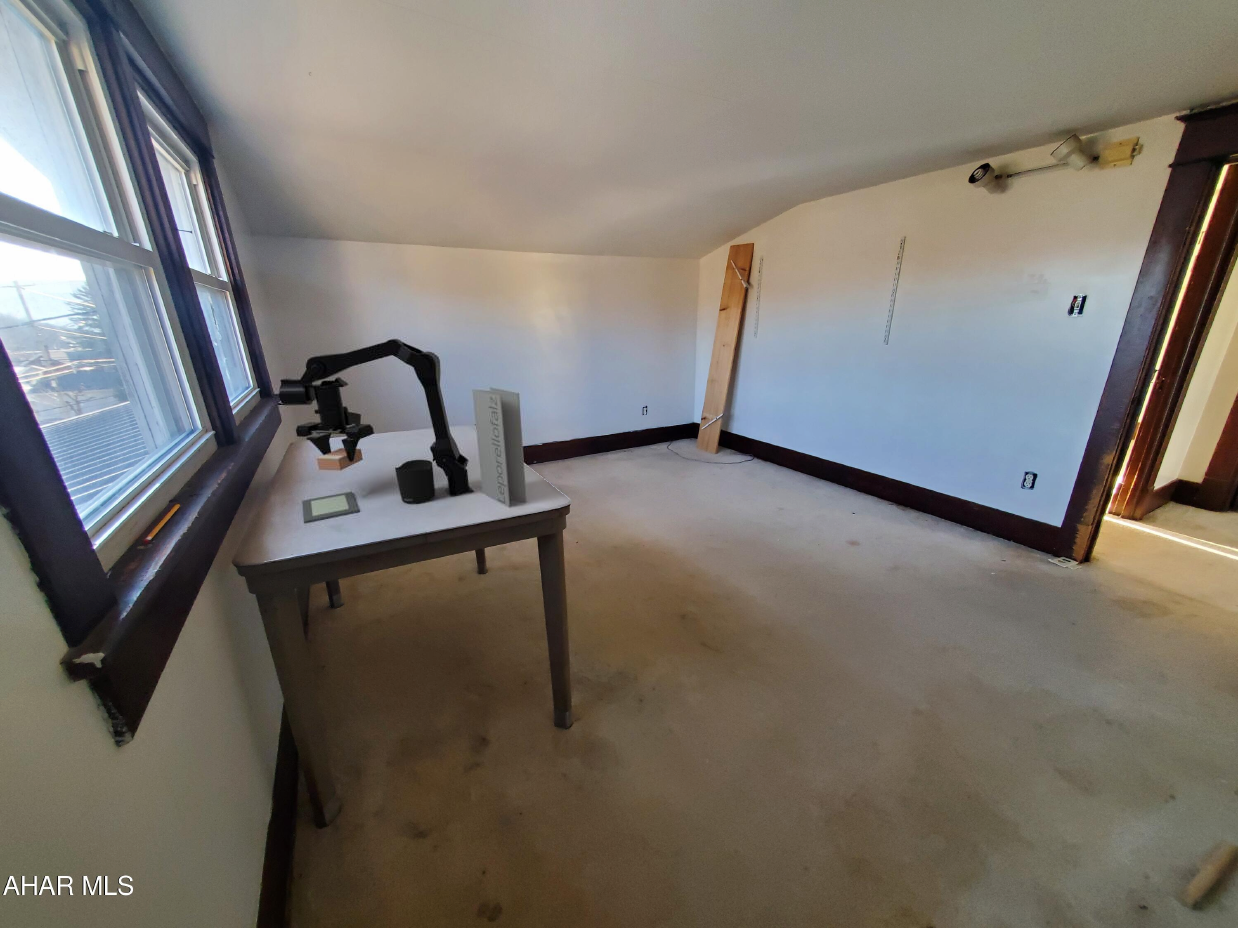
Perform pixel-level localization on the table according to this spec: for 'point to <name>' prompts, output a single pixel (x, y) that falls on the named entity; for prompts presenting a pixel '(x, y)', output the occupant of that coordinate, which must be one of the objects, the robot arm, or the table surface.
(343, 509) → the mat
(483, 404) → the brochure
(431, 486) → the pen holder
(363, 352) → the robot arm
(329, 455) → the block
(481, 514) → the table surface
